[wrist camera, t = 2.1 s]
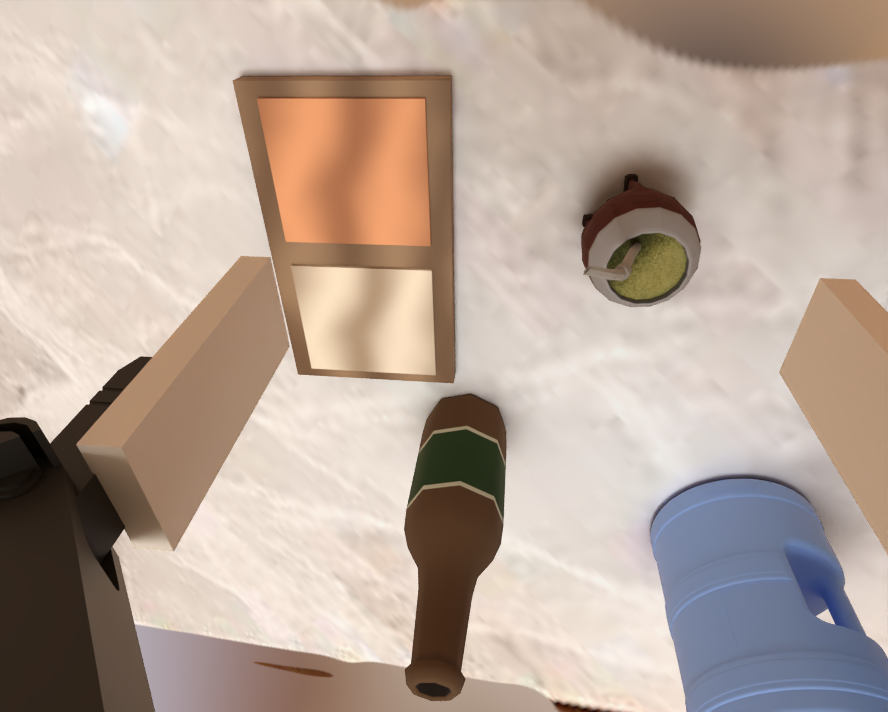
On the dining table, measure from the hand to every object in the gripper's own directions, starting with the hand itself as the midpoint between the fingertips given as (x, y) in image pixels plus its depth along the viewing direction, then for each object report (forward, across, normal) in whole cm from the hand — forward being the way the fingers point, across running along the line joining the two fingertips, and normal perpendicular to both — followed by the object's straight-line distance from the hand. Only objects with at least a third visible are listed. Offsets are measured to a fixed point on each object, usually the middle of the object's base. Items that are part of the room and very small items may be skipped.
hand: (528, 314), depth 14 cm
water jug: (+27, -24, +41) cm, 55 cm away
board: (+27, +12, +12) cm, 32 cm away
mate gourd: (+27, -8, +8) cm, 29 cm away
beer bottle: (+27, +3, +29) cm, 40 cm away
